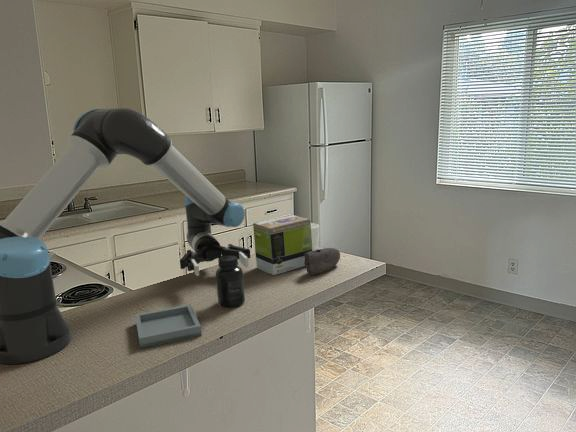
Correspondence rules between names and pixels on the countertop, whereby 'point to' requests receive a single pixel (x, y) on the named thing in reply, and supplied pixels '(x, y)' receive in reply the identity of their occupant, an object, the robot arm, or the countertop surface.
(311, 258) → the perforated stone tool
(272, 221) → the tea box
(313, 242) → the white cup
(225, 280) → the supplement bottle
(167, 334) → the tray
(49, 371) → the countertop surface
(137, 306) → the countertop surface
